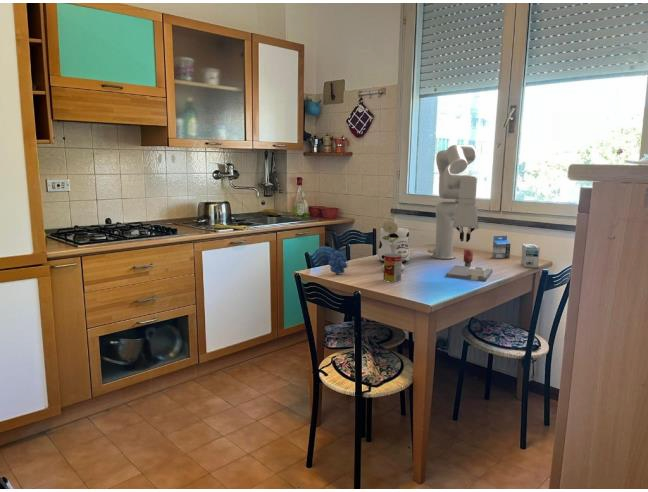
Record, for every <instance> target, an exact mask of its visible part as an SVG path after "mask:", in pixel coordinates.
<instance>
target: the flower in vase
mask: <svg viewBox="0 0 648 492" xmlns="http://www.w3.org/2000/svg"><path fill="white" fill-rule="evenodd" d="M398 227H399V226H398V224H397V223H396V222H394V221H393V220H392V221H391V220H386V221H384V222H383V223H382V225H381V228H383V229H384V231H385V232H388V233H389V234H390V233H391V234H392V233H395V232H397V231H398V230H397V229H398ZM389 238H390V236H389V237H387V236H384V237H383V238H382V239H384V240H389ZM398 238H399V237H398ZM398 238H395V239H393V240H391V239H390V240H391V242H392V241H394V240H397V239H398ZM389 245H390V247H391V253H396V249H397V246H398V245H399V243H393V242H392V243H389ZM381 268H382V270H384V263H383V264H382V265H381ZM404 270H405V265H404V264H403V263H402V266H401V272H402V271H404Z"/></svg>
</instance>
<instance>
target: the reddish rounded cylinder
mask: <svg viewBox="0 0 648 492" xmlns="http://www.w3.org/2000/svg"><path fill="white" fill-rule="evenodd" d="M473 254H474V250H473V249H471V248H470V249H469V248H467V249H466V248H465V249H464V250H463V262H464V266H466V267H472V263H473V257H474V256H473Z"/></svg>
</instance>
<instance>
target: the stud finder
mask: <svg viewBox="0 0 648 492" xmlns="http://www.w3.org/2000/svg"><path fill="white" fill-rule="evenodd" d="M486 269H487V268H486V267H477V266H471V267H470V268H469V270H468V275H473V276H482V277H484V276H485V275H486Z"/></svg>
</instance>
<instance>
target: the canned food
mask: <svg viewBox="0 0 648 492" xmlns="http://www.w3.org/2000/svg"><path fill="white" fill-rule="evenodd" d="M383 264H384V269H383V281H384V280H385V281H389V282H398V283H400V282H399V281H401V282H402V271H401V266H402V264H403V263H402V255H401V254H396V253H388V254H384V262H383ZM385 281H384V282H385ZM389 282H388V283H389Z"/></svg>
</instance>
